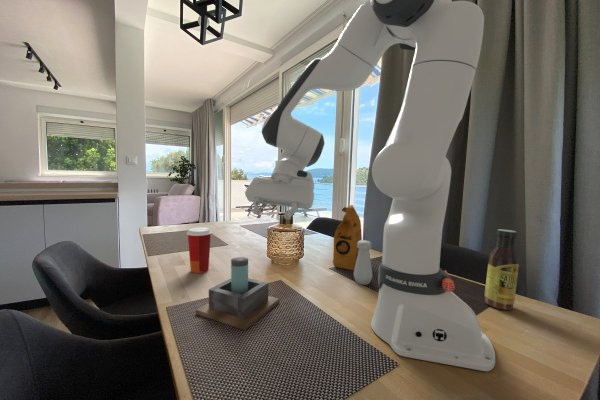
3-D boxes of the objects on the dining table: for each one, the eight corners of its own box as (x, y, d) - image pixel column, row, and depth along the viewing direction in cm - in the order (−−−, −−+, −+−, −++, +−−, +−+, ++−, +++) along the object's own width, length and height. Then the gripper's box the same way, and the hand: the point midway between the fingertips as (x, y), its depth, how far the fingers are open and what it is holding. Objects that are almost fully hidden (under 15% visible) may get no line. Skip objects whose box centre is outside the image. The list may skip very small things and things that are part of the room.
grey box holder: (279, 302, 68) (279, 281, 67) (245, 330, 55) (245, 304, 54) (235, 291, 74) (235, 271, 73) (195, 313, 61) (195, 290, 61)
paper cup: (211, 265, 94) (211, 226, 93) (211, 273, 87) (211, 231, 85) (187, 267, 91) (187, 227, 90) (185, 275, 84) (185, 232, 83)
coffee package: (328, 267, 95) (330, 206, 94) (339, 258, 106) (341, 203, 105) (355, 272, 91) (357, 208, 89) (364, 262, 102) (366, 205, 100)
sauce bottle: (499, 312, 65) (506, 233, 64) (477, 300, 71) (484, 228, 70) (521, 310, 66) (528, 232, 65) (498, 299, 73) (504, 227, 71)
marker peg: (251, 302, 65) (251, 258, 64) (241, 309, 61) (241, 263, 61) (238, 298, 67) (238, 256, 66) (227, 305, 63) (227, 260, 62)
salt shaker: (372, 286, 79) (374, 244, 78) (353, 284, 80) (354, 242, 79) (371, 279, 84) (373, 239, 83) (353, 277, 86) (354, 238, 84)
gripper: (252, 168, 81) (233, 204, 73) (316, 174, 75) (303, 214, 67) (258, 181, 86) (241, 216, 78) (319, 188, 80) (307, 227, 72)
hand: (270, 215), depth 73 cm, fingers open, 8 cm apart
